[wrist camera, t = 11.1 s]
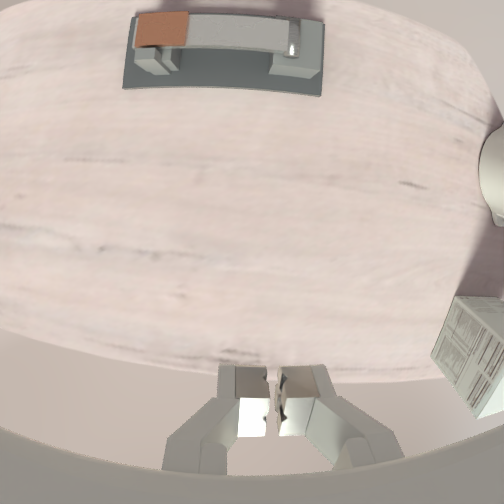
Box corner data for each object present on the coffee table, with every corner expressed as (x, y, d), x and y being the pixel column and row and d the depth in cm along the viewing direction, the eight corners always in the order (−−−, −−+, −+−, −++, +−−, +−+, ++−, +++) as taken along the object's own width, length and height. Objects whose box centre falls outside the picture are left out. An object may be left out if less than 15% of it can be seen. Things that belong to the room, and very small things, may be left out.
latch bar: (299, 23, 27) (304, 16, 25) (297, 59, 28) (302, 54, 26) (140, 18, 25) (134, 12, 23) (135, 54, 27) (129, 49, 25)
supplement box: (428, 358, 50) (474, 421, 34) (453, 294, 46) (516, 350, 29) (474, 353, 51) (520, 405, 35) (498, 296, 47) (556, 342, 30)
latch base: (322, 26, 32) (344, 0, 24) (319, 97, 35) (341, 85, 27) (133, 20, 30) (110, -6, 22) (125, 89, 34) (96, 77, 25)
